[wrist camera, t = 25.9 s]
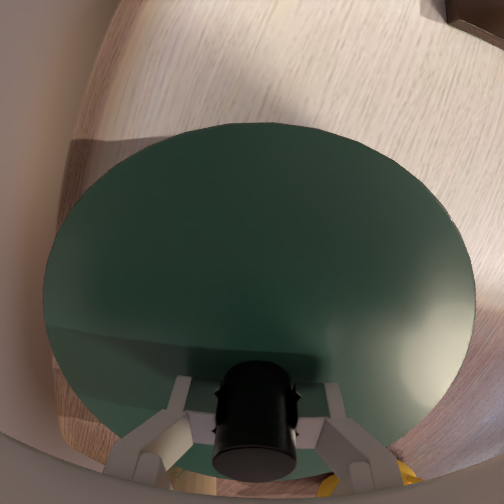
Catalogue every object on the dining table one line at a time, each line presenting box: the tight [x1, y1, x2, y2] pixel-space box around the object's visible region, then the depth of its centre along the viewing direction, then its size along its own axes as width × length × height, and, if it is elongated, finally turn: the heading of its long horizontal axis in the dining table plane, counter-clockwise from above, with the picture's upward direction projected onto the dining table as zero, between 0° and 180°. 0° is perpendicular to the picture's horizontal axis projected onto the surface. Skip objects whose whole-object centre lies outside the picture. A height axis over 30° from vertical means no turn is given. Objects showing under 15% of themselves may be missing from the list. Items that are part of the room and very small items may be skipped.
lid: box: [43, 122, 476, 483], centre depth 9 cm, size 17×17×5 cm
